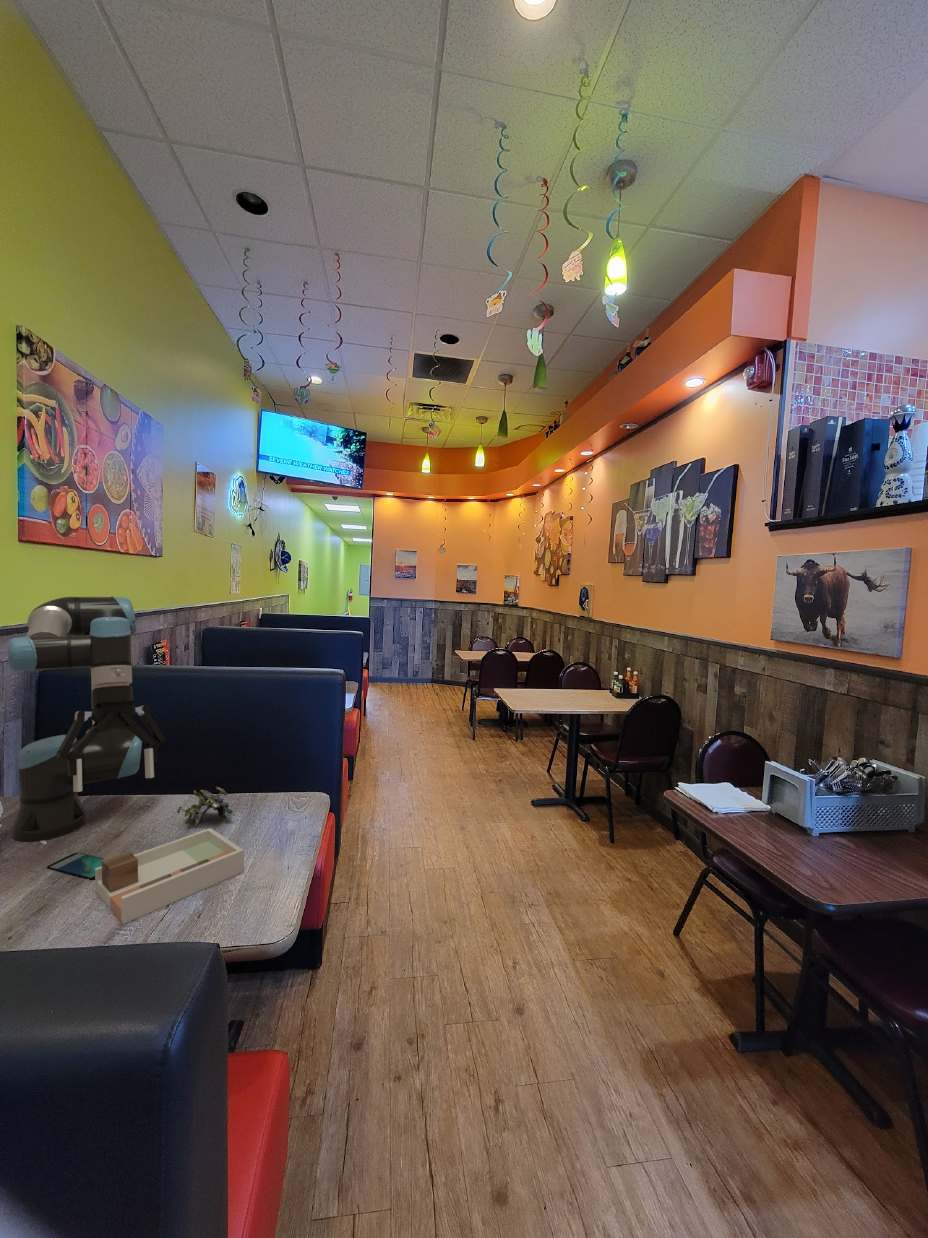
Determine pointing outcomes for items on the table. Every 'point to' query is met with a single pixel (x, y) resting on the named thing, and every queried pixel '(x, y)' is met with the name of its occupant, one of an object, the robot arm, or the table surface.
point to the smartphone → (77, 865)
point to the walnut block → (119, 871)
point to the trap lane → (173, 873)
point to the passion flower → (208, 805)
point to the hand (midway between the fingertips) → (115, 784)
